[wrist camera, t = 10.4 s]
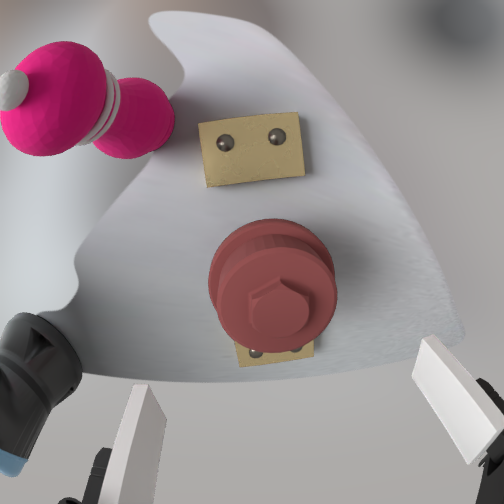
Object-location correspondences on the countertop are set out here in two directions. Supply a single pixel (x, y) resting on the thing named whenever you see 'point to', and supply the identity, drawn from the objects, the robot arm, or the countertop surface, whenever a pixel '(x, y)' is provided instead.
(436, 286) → the countertop surface
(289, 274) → the mechanical component
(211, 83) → the countertop surface
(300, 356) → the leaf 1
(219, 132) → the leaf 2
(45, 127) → the pepper mill
